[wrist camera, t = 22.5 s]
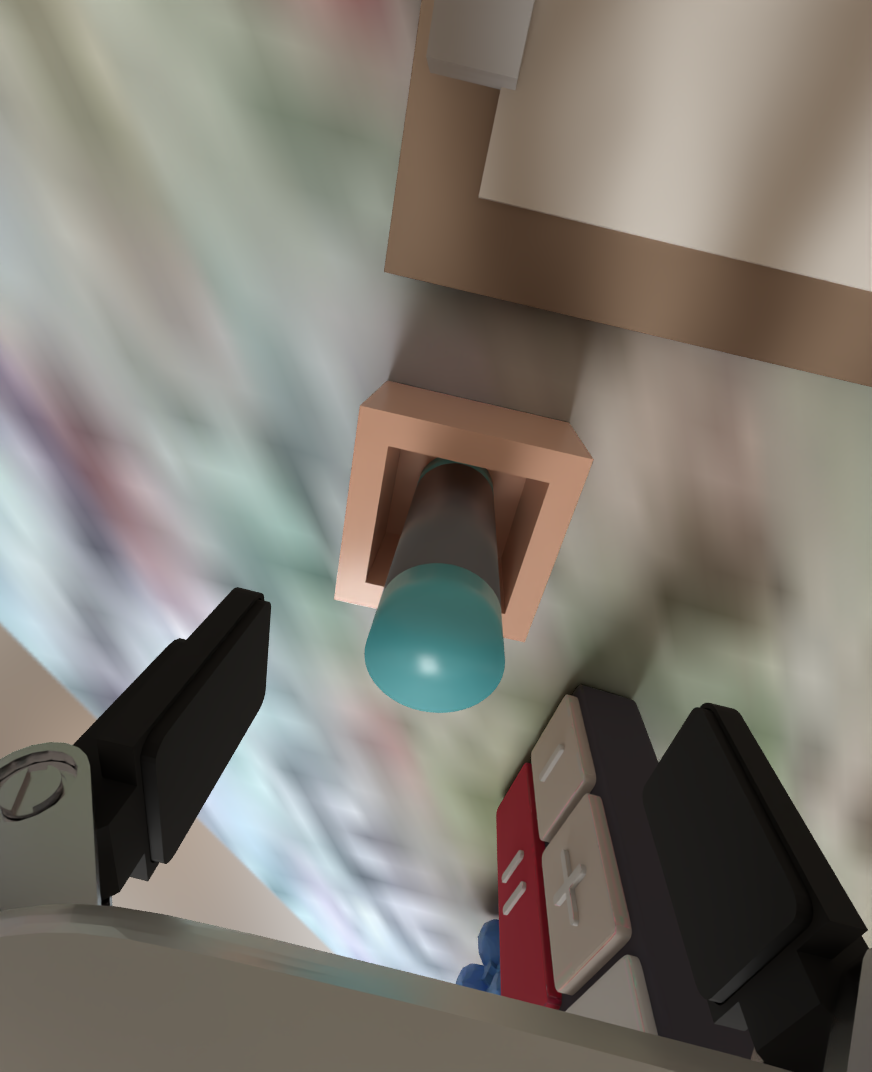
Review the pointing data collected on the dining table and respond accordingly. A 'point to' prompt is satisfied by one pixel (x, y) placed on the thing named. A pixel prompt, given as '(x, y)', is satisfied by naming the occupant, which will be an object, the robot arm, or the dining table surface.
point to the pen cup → (471, 438)
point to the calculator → (595, 883)
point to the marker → (442, 597)
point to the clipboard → (650, 168)
